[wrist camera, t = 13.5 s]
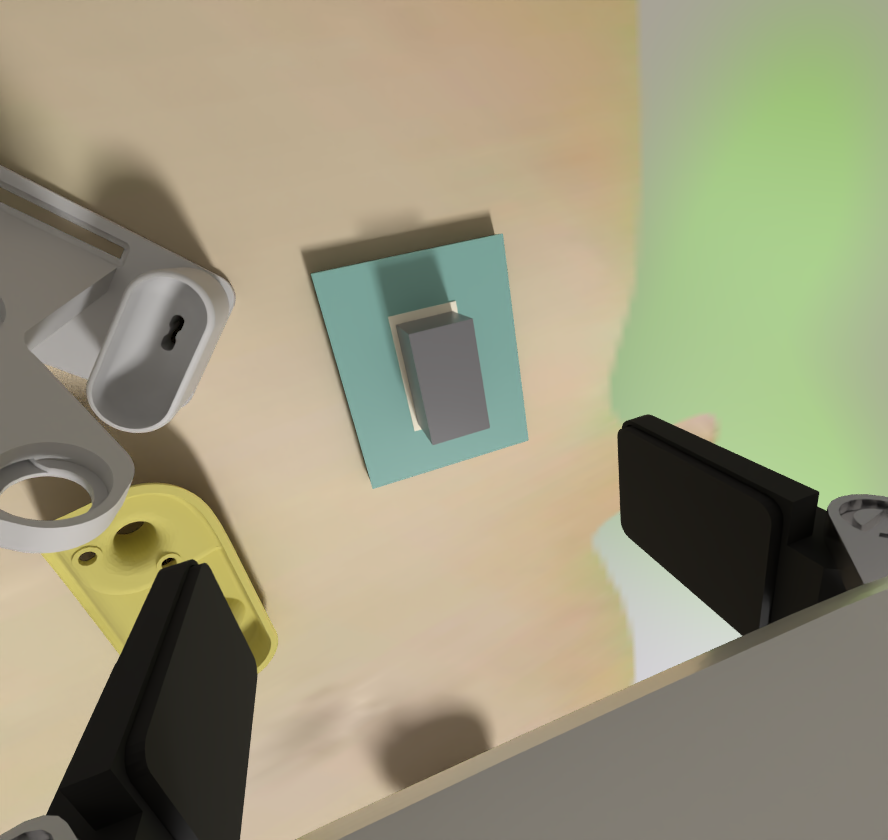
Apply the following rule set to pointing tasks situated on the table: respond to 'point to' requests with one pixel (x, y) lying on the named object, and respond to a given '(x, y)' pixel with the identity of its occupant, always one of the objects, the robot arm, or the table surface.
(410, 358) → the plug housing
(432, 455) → the board
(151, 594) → the robot arm
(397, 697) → the table surface
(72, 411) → the phone holder
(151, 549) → the plastic component
